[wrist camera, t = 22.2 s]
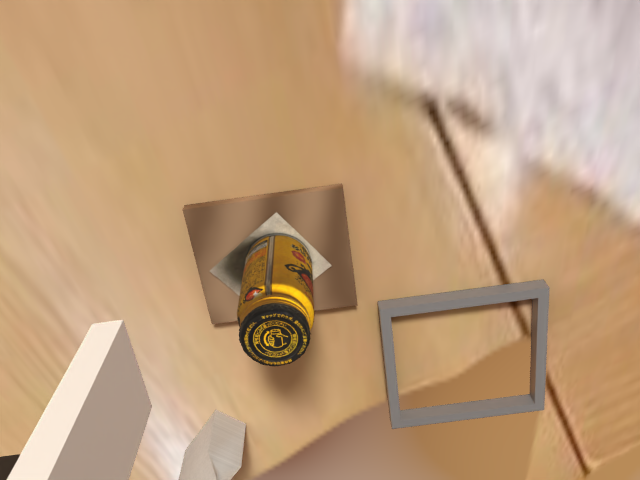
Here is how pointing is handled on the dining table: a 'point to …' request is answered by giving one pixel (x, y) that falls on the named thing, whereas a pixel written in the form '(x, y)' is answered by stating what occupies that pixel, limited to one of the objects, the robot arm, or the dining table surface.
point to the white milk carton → (215, 450)
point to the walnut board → (248, 215)
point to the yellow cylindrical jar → (273, 291)
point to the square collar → (461, 300)
